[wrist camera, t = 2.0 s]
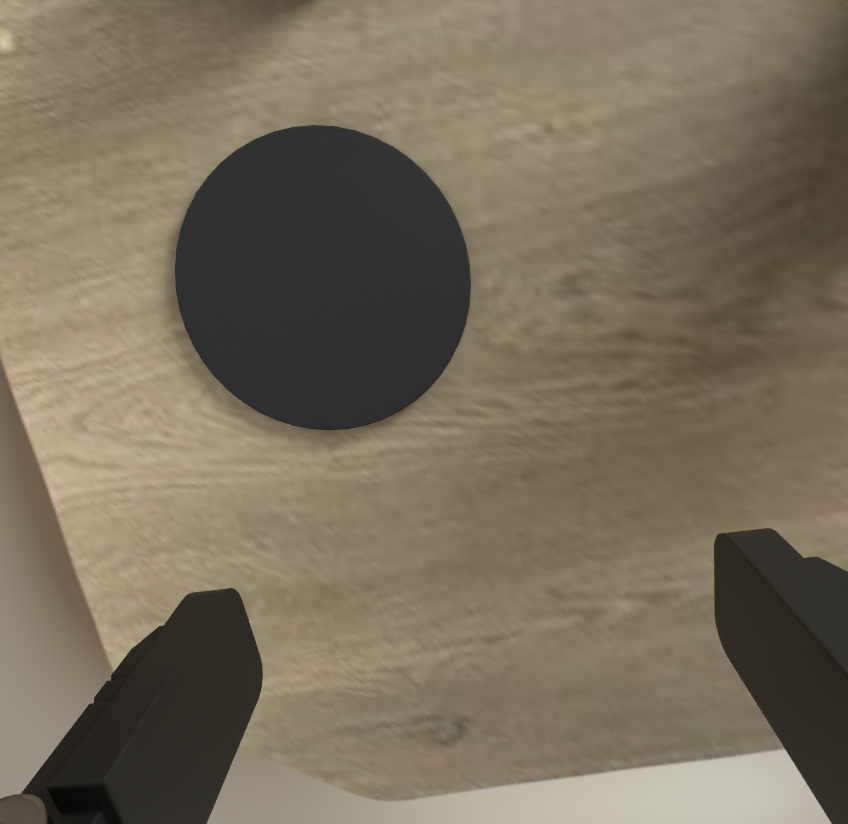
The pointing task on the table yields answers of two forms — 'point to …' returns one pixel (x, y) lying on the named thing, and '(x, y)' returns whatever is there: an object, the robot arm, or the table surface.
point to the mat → (322, 277)
